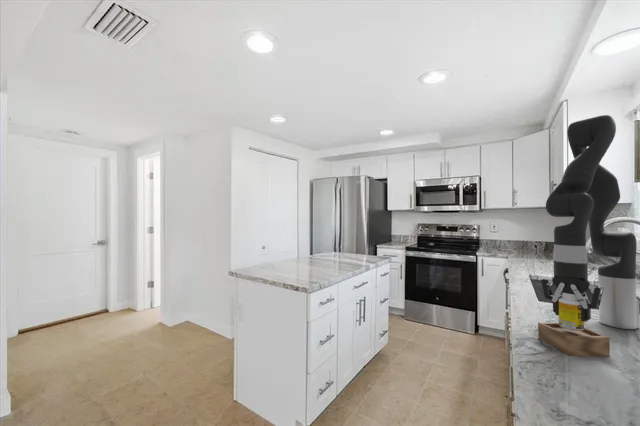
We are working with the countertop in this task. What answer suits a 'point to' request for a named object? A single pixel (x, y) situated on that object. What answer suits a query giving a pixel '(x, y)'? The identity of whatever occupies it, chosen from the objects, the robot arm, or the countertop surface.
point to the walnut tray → (574, 340)
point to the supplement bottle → (570, 312)
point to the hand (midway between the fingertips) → (571, 317)
